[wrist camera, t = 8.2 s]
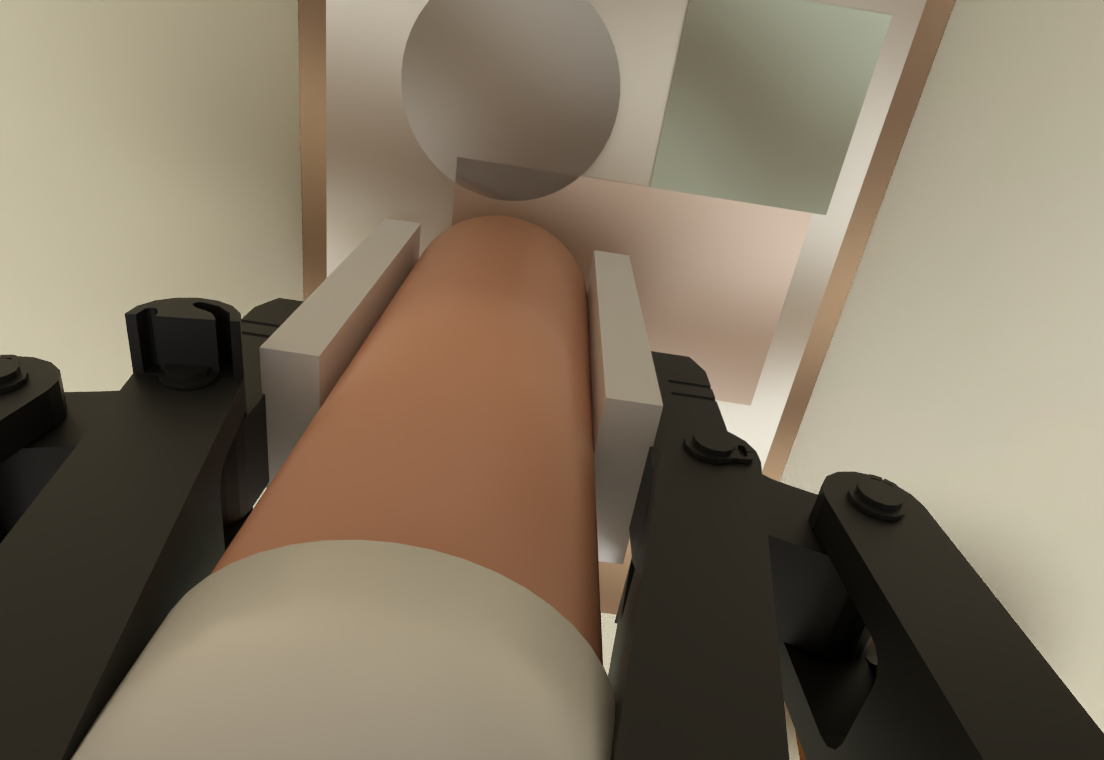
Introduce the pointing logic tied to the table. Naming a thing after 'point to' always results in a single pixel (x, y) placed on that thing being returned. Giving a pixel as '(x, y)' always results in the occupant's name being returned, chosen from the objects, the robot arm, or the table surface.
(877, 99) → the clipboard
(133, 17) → the table surface
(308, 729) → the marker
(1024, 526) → the table surface
